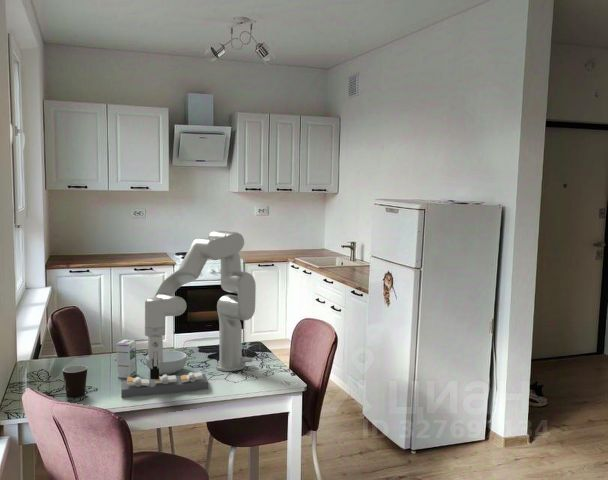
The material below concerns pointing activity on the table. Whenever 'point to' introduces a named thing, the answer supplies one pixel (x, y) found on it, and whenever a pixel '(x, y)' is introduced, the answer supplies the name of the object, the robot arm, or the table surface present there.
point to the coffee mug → (75, 380)
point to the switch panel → (163, 387)
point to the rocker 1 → (137, 381)
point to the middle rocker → (165, 379)
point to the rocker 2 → (191, 377)
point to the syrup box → (126, 358)
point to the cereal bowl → (170, 362)
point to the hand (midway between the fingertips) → (154, 378)
